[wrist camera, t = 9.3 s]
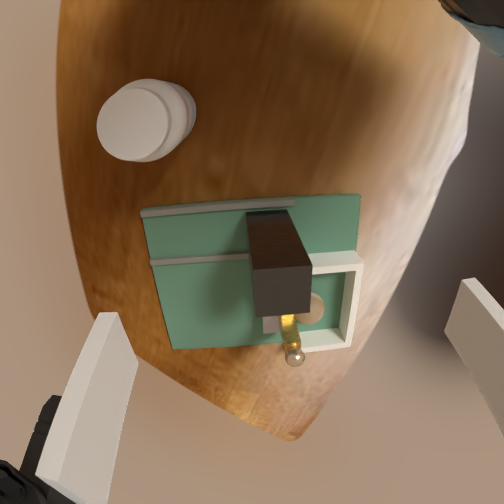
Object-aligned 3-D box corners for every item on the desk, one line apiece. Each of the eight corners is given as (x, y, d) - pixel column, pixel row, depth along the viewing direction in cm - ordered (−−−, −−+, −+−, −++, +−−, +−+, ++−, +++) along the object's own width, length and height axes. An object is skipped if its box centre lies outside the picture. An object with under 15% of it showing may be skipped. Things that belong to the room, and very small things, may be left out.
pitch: (142, 208, 31) (139, 211, 30) (358, 193, 32) (362, 197, 31) (173, 346, 40) (172, 351, 39) (343, 332, 40) (345, 337, 39)
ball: (322, 307, 32) (328, 288, 35) (288, 301, 33) (297, 283, 36) (319, 333, 34) (326, 314, 37) (287, 327, 35) (296, 308, 38)
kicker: (245, 211, 31) (252, 269, 21) (290, 209, 31) (318, 264, 22) (252, 322, 37) (259, 396, 28) (289, 318, 37) (307, 391, 28)
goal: (294, 252, 34) (300, 268, 31) (352, 247, 35) (364, 263, 32) (292, 334, 40) (297, 353, 37) (342, 328, 40) (350, 346, 37)
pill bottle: (126, 136, 28) (76, 159, 18) (146, 75, 25) (100, 67, 15) (185, 153, 29) (161, 185, 19) (207, 93, 27) (193, 90, 17)
